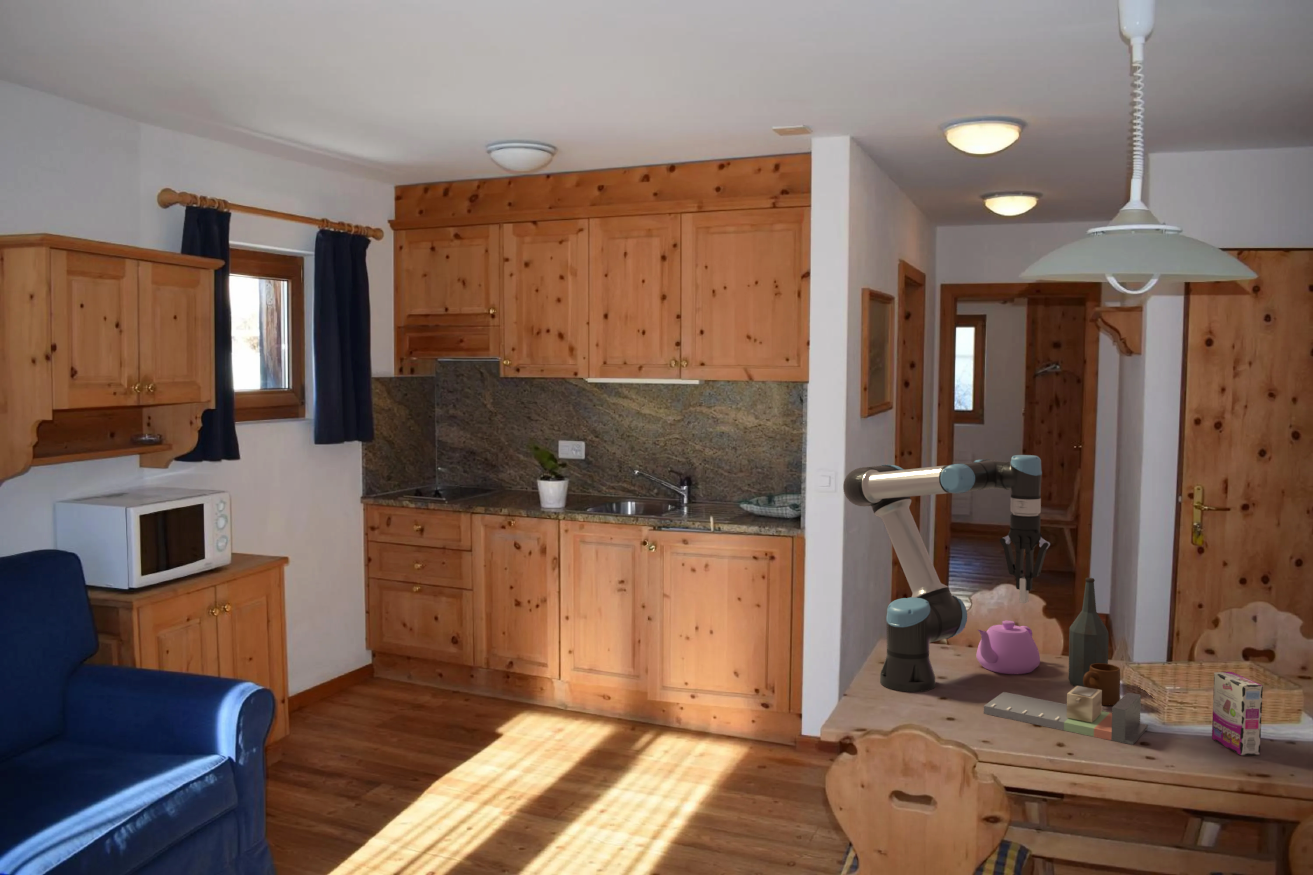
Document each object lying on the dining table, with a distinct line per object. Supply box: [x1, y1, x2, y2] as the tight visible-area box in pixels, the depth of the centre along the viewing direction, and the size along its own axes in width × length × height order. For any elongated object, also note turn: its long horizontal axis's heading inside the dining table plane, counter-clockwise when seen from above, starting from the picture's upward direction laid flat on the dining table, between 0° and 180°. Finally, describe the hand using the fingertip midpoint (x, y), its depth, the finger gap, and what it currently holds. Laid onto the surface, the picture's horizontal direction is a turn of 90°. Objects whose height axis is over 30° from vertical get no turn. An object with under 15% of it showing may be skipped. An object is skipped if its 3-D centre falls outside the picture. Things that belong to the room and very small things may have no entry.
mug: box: [1083, 663, 1121, 707], centre depth 270 cm, size 12×8×9 cm, turn 120°
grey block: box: [1110, 692, 1149, 746], centre depth 248 cm, size 5×14×8 cm, turn 141°
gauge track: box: [983, 691, 1112, 741], centre depth 259 cm, size 31×14×2 cm, turn 51°
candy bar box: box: [1211, 671, 1264, 756], centre depth 238 cm, size 11×5×16 cm, turn 5°
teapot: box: [975, 620, 1041, 675], centre depth 302 cm, size 25×18×14 cm
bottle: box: [1068, 577, 1110, 687], centre depth 285 cm, size 10×10×30 cm
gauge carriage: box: [1066, 686, 1103, 723], centre depth 253 cm, size 6×10×6 cm, turn 141°
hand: (1023, 601), depth 272 cm, fingers closed
